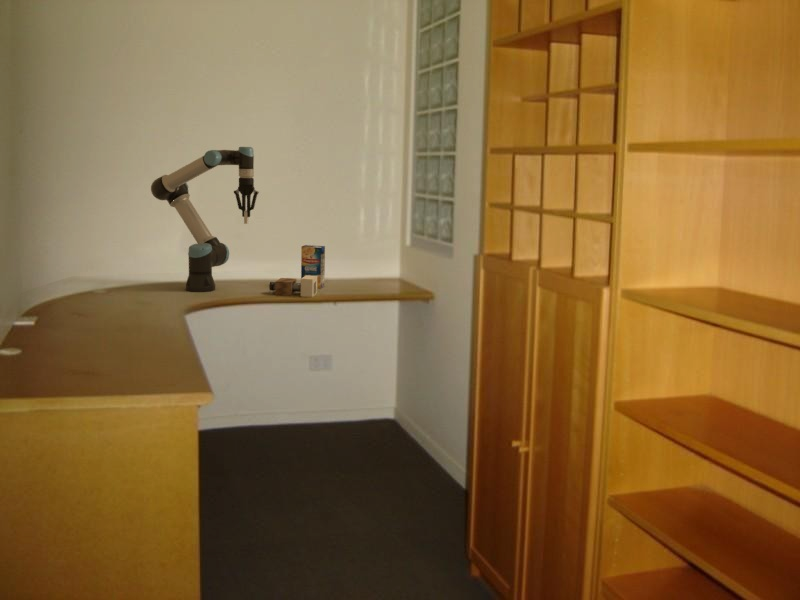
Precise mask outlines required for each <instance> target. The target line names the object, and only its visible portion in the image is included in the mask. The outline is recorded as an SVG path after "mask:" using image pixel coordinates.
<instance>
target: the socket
mask: <svg viewBox="0 0 800 600" xmlns="http://www.w3.org/2000/svg"><path fill="white" fill-rule="evenodd" d="M300 283H301V292H300V297H305V298H306V297H309V298H313V297H314V296H316V295H317V293H318V289H317V276H309V275H306V276H304V277H303V278H301V277H300Z"/></svg>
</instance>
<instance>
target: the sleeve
mask: <svg viewBox="0 0 800 600" xmlns="http://www.w3.org/2000/svg"><path fill="white" fill-rule="evenodd" d="M274 282H275V291H274V293H275V296H281V297H285V296H288V297H291V296H293V295H294V294H296V293H297V292H292V283H297V278H291V277H290V278H289V277H286V278H284V277H280V278H279V279H277V280H275V281H274Z"/></svg>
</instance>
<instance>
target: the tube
mask: <svg viewBox="0 0 800 600" xmlns="http://www.w3.org/2000/svg"><path fill="white" fill-rule="evenodd" d="M275 282H276V281H270V282H269V285H268V286H269V291H270V292H271V291H272V292H273V291H274V292H275ZM292 292H296V293H301V282H296V283H292Z"/></svg>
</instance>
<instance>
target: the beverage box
mask: <svg viewBox="0 0 800 600" xmlns="http://www.w3.org/2000/svg"><path fill="white" fill-rule="evenodd" d="M325 254H326V246H325V245H314V244H313V245H311V244H309V245H308V244H305V245H302V246H301V261H300V262H301V266H300V268H301V269H300V271H301V272H300V274H301V275H300V279H301V278H303V277H304V276H306V275H309V276H317V290H318V289H319V290H322V289H323V288H325V273H326V272H325V269H326V267H325V266H326V265H325V263H326V262H325V259H326V256H325Z"/></svg>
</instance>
